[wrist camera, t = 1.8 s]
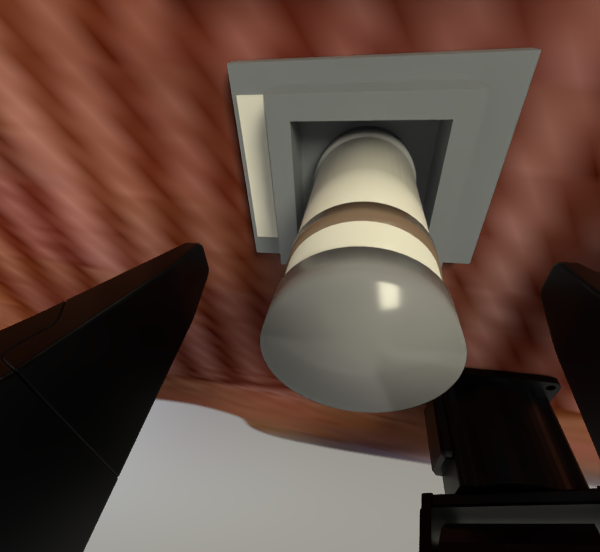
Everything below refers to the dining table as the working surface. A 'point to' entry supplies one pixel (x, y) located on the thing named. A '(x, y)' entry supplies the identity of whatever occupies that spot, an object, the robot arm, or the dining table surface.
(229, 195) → the dining table surface
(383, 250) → the banded cream cylinder
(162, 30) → the dining table surface
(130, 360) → the robot arm
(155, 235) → the dining table surface
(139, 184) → the dining table surface
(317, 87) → the socket block
